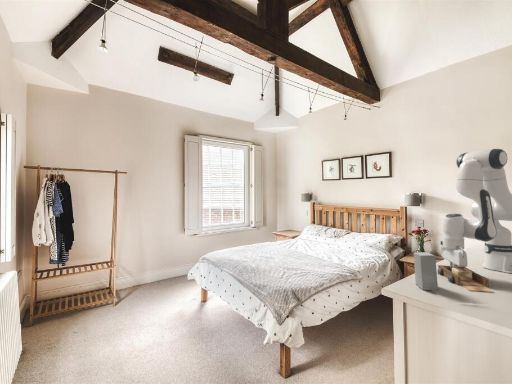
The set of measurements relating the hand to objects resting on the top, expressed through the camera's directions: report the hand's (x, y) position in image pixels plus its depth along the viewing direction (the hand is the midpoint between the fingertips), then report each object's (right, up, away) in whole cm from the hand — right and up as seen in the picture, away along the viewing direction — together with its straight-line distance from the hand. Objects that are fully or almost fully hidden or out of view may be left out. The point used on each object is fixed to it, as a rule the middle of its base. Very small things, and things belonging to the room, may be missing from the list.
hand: (453, 270), depth 137 cm
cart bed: (-2, -3, -7) cm, 8 cm away
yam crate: (-2, -1, -8) cm, 8 cm away
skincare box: (-26, -3, -17) cm, 31 cm away
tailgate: (-5, -2, -18) cm, 19 cm away
